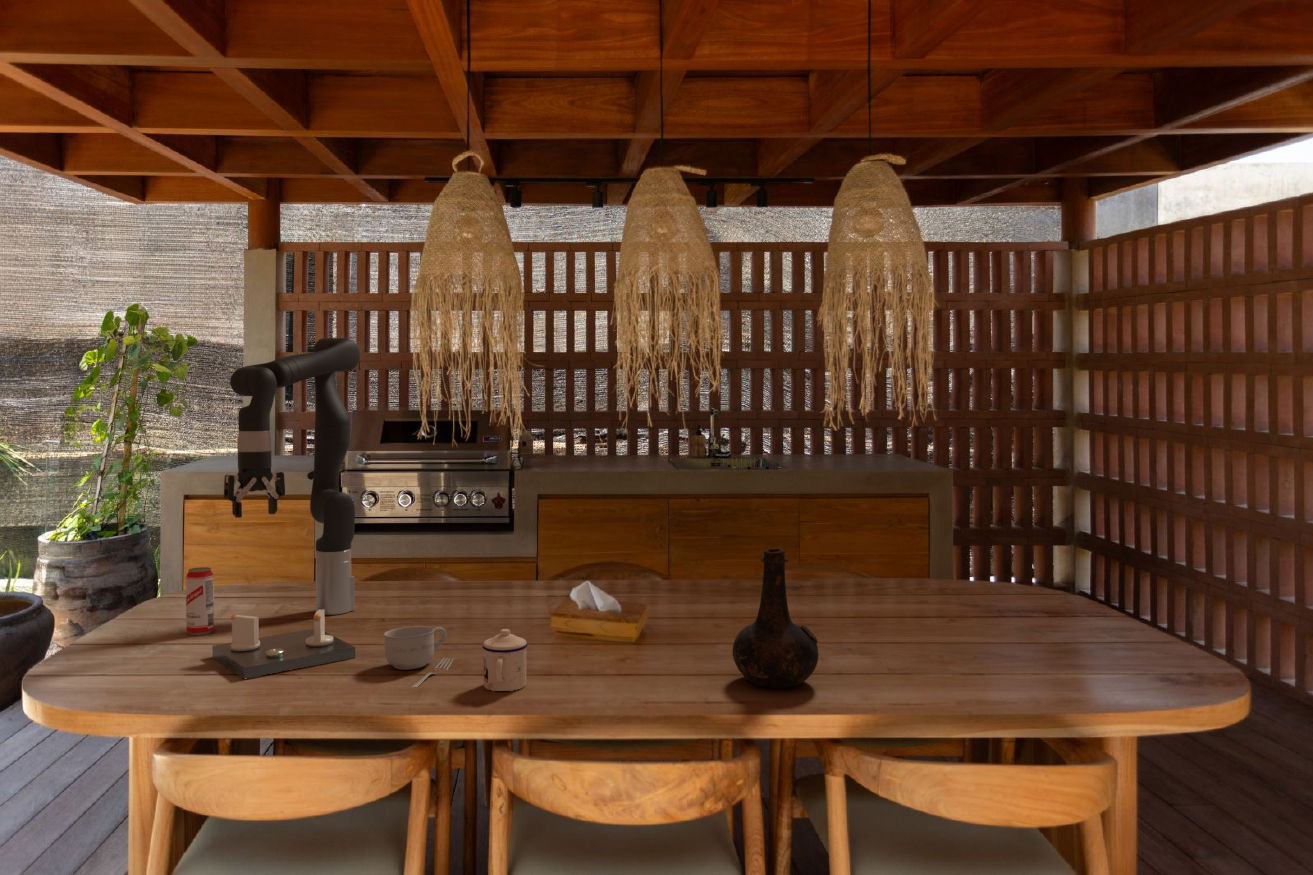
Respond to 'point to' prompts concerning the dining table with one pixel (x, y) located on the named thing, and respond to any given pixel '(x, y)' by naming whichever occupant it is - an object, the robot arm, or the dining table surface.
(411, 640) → the teacup
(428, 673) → the fork
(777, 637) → the glass bottle
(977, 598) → the dining table surface
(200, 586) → the beer can
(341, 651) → the levelling base
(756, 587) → the dining table surface
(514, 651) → the teacup with lid
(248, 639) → the knob
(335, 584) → the robot arm
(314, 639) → the knob
